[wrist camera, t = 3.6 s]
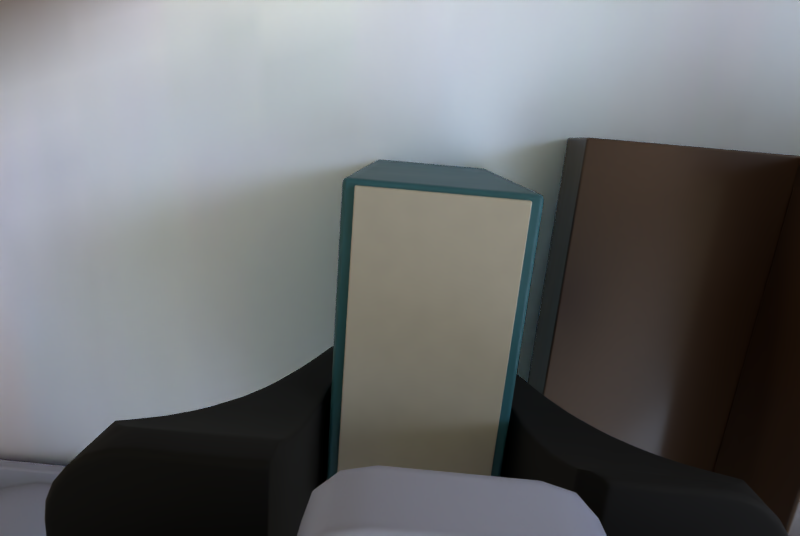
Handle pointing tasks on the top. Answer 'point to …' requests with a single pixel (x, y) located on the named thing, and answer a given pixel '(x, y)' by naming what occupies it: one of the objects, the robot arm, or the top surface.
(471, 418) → the book
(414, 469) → the robot arm
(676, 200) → the step shelf
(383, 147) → the top surface
